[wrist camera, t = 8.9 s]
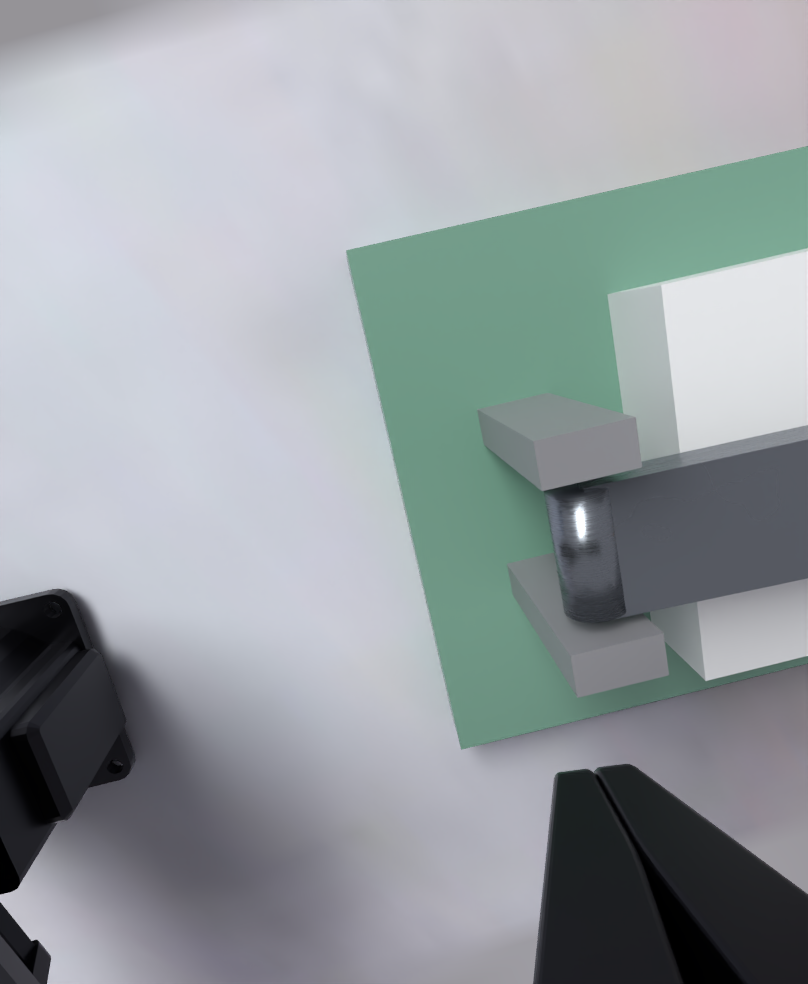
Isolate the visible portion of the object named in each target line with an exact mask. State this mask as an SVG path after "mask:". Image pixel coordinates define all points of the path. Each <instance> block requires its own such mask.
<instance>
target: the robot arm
mask: <svg viewBox="0 0 808 984" xmlns="http://www.w3.org/2000/svg"><path fill="white" fill-rule="evenodd" d="M50 602H55V603H57V604H59V605H60V607H61V610H62V612H56V611H54V610H52V608H51V607H50ZM125 723H126V718H125V715H124V713H123V710H122V707H121V705H120V702H119V699H118V697H117V694H116V692H115V689H114V686H113V684H112V681H111V678H110V676H109V673H108V671H107V668H106V665H105V663H104V660H103V658H102V655H101V654H100V653H99V652H98V651H97V650H95V649H94V648H93V646H92V643H91V640H90V638H89V635H88V633H87V630H86V627H85V625H84V622H83V620H82V617H81V614H80V612H79V609H78V607H77V604H76V601H75V599H74V598H73V596H72V595H71V594H70V593H68V592H67V591H65V590H61V589H52V590H48V591H44V592H39V593H35V594H31V595H27V596H23V597H18V598H14V599H10V600H6V601H1V602H0V894H4V893H8V892H12V891H14V890H16V889H17V888H18V886H19V885H20V883H21V881H22V880H23V878H24V877H25V875H26V873H27V872H28V870H29V868H30V867H31V865H32V863H33V862H34V860H35V858H36V857H37V855H38V854H39V852H40V850H41V849H42V847H43V845H44V844H45V842H46V840H47V839H48V837H49V835H50V834H51V832H52V830H53V829H54V827H55V826H56V824H57V823H58V822H62V821H66V820H68V819H69V818H70V817H71V815H72V813H73V812H74V810H75V808H76V807H77V805H78V803H79V802H80V800H81V798H82V796H83V795H84V793H85V791H86V790H87V788H89V787H93V786H97V785H101V784H105V783H109V782H113V781H117V780H121V779H123V778H125V777H126V776H127V775H128V774H129V773H130V771H131V769H132V767H133V765H134V762H135V755H134V752H133V750H132V747H131V744H130V742H129V739H128V737H127V734H126V731H125V729H124V725H125ZM111 760H118V761H120V762H121V763H122V764H123V765H116V764H114V763H113V762H112V761H111ZM50 962H51V956H50V955H49V953H48V952H47V951H46V950H45V948H44V947H43V946H42V945H41V943H40V942H39V941H38V940H34V941H31V940H30V939H29V937H28V936H27V935H26V934H25V933H24V931H23V930H22V929H21V928H20V926H19V925H18V924H17V923H16V921H15V920H14V919H13V918H12V916H11V915H10V914H9V913H8V911H7V910H6V909H5V908H4V906H3V905H2V904H1V903H0V984H47V980H48V974H49V968H50ZM533 984H808V894H807V893H805V892H804V891H802V890H801V889H800V888H799V887H797V886H796V885H795V884H793V883H792V882H791V881H789V880H788V879H787V878H785V877H784V876H782V875H781V874H780V873H778V872H777V871H776V870H774V869H773V868H772V867H770V866H769V865H768V864H766V863H765V862H764V861H762V860H761V859H759V858H758V857H757V856H755V855H754V854H753V853H751V852H750V851H749V850H747V849H746V848H745V847H743V846H742V845H741V844H739V843H738V842H736V841H735V840H734V839H732V838H731V837H730V836H728V835H727V834H726V833H724V832H723V831H722V830H720V829H719V828H718V827H716V826H715V825H713V824H712V823H711V822H709V821H708V820H707V819H705V818H704V817H703V816H701V815H700V814H699V813H697V812H696V811H695V810H693V809H692V808H690V807H689V806H688V805H686V804H685V803H684V802H682V801H681V800H680V799H678V798H677V797H676V796H674V795H673V794H672V793H670V792H669V791H667V790H666V789H665V788H663V787H662V786H661V785H659V784H658V783H657V782H655V781H654V780H653V779H651V778H650V777H649V776H647V775H646V774H644V773H643V772H642V771H640V770H639V769H638V768H636V767H635V766H632V765H630V764H622V765H614V766H606V767H599V768H597V769H596V770H595V771H594V773H593V772H592V771H590V770H588V769H582V770H574V771H566V772H559V773H557V774H556V775H555V777H554V785H553V795H552V804H551V814H550V824H549V834H548V843H547V853H546V863H545V873H544V882H543V892H542V902H541V912H540V921H539V931H538V941H537V951H536V960H535V971H534V981H533Z"/></svg>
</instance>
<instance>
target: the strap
mask: <svg viewBox="0 0 808 984" xmlns="http://www.w3.org/2000/svg"><path fill="white" fill-rule="evenodd" d="M544 498H545V504H546V509H547V515H548V521H549V527H550V533H551V539H552V544H553V550H554V556H555V562H556V568H557V574H558V579H559V585H560V591H561V597H562V603H563V608H564V613H565V615H566V616H567V617H569V618H570V619H572V620H575V621H579V622H584V623H600V622H606V621H611V620H614V619H618V618H623V617H628V616H632V615H637V614H642V613H646V612H651V611H656V610H661V609H665V608H670V607H675V606H680V605H684V604H689V603H694V602H698V601H703V600H708V599H713V598H717V597H722V596H727V595H732V594H736V593H741V592H746V591H750V590H755V589H760V588H765V587H769V586H774V585H779V584H784V583H788V582H793V581H798V580H803V579H807V578H808V425H805V426H801V427H796V428H792V429H787V430H783V431H778V432H774V433H769V434H764V435H760V436H755V437H751V438H746V439H742V440H737V441H733V442H728V443H723V444H719V445H714V446H710V447H705V448H701V449H696V450H692V451H687V452H683V453H678V454H673V455H669V456H664V457H660V458H655V459H651V460H646V461H642V468H638V469H634V470H630V471H625V472H621V473H617V474H613V475H609V476H604V477H600V478H596V479H592V480H588V481H583V482H579V483H575V484H571V485H567V486H562V487H558V488H554V489H550V490H546V491H544Z"/></svg>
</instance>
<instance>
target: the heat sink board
mask: <svg viewBox="0 0 808 984" xmlns="http://www.w3.org/2000/svg"><path fill="white" fill-rule="evenodd" d="M346 253H347V261H348V265H349V270H350V274H351V278H352V283H353V287H354V291H355V296H356V300H357V304H358V309H359V313H360V317H361V322H362V326H363V330H364V335H365V339H366V343H367V347H368V352H369V356H370V360H371V365H372V369H373V373H374V378H375V382H376V386H377V391H378V395H379V399H380V404H381V408H382V412H383V417H384V421H385V425H386V430H387V434H388V438H389V443H390V447H391V451H392V456H393V460H394V464H395V469H396V473H397V477H398V482H399V486H400V490H401V495H402V499H403V503H404V508H405V512H406V516H407V521H408V525H409V529H410V534H411V538H412V542H413V547H414V551H415V555H416V560H417V564H418V568H419V573H420V577H421V581H422V585H423V590H424V594H425V598H426V603H427V607H428V611H429V616H430V620H431V624H432V629H433V633H434V637H435V642H436V646H437V650H438V655H439V659H440V663H441V668H442V672H443V676H444V681H445V685H446V689H447V694H448V698H449V702H450V707H451V711H452V715H453V720H454V724H455V727H456V731H457V735H458V739H459V742H460V746H461V750H462V749H466V748H470V747H474V746H478V745H482V744H486V743H490V742H494V741H498V740H502V739H506V738H510V737H514V736H518V735H522V734H526V733H530V732H534V731H538V730H542V729H546V728H550V727H554V726H558V725H562V724H566V723H571V722H575V721H579V720H583V719H587V718H591V717H595V716H599V715H603V714H607V713H611V712H615V711H619V710H623V709H627V708H631V707H635V706H639V705H643V704H647V703H651V702H655V701H659V700H663V699H667V698H671V697H675V696H679V695H684V694H688V693H692V692H696V691H700V690H704V689H708V688H712V687H716V686H720V685H724V684H728V683H732V682H736V681H740V680H744V679H748V678H752V677H756V676H760V675H764V674H768V673H772V672H776V671H780V670H784V669H788V668H792V667H797V666H801V665H805V664H808V578H807V579H803V580H798V581H793V582H788V583H784V584H779V585H774V586H769V587H765V588H760V589H755V590H750V591H746V592H741V593H736V594H732V595H727V596H722V597H717V598H713V599H708V600H703V601H698V602H694V603H689V604H684V605H680V606H675V607H670V608H665V609H661V610H656V611H651V612H646V613H642V614H637V615H632V616H628V617H623V618H618V619H614V620H611V621H606V622H600V623H584V622H579V621H575V620H572V619H570V618H569V617H567V616H566V615H565V613H564V608H563V603H562V597H561V591H560V585H559V579H558V574H557V568H556V562H555V556H554V550H553V544H552V539H551V533H550V527H549V521H548V515H547V509H546V504H545V498H544V491H546V490H550V489H554V488H558V487H562V486H567V485H571V484H575V483H579V482H583V481H588V480H592V479H596V478H600V477H604V476H609V475H613V474H617V473H621V472H625V471H630V470H634V469H638V468H642V461H646V460H651V459H655V458H660V457H664V456H669V455H673V454H678V453H683V452H687V451H692V450H696V449H701V448H705V447H710V446H714V445H719V444H723V443H728V442H733V441H737V440H742V439H746V438H751V437H755V436H760V435H764V434H769V433H774V432H778V431H783V430H787V429H792V428H796V427H801V426H805V425H808V146H806V147H802V148H798V149H793V150H789V151H784V152H780V153H775V154H771V155H767V156H762V157H758V158H753V159H749V160H745V161H740V162H736V163H731V164H727V165H722V166H718V167H714V168H709V169H705V170H700V171H696V172H691V173H687V174H683V175H678V176H674V177H669V178H665V179H660V180H656V181H652V182H647V183H643V184H638V185H634V186H630V187H625V188H621V189H616V190H612V191H607V192H603V193H599V194H594V195H590V196H585V197H581V198H576V199H572V200H568V201H563V202H559V203H554V204H550V205H546V206H541V207H537V208H532V209H528V210H523V211H519V212H515V213H510V214H506V215H501V216H497V217H492V218H488V219H484V220H479V221H475V222H470V223H466V224H462V225H457V226H453V227H448V228H444V229H439V230H435V231H431V232H426V233H422V234H417V235H413V236H408V237H404V238H400V239H395V240H391V241H386V242H382V243H378V244H373V245H369V246H364V247H360V248H355V249H351V250H347V251H346Z"/></svg>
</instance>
